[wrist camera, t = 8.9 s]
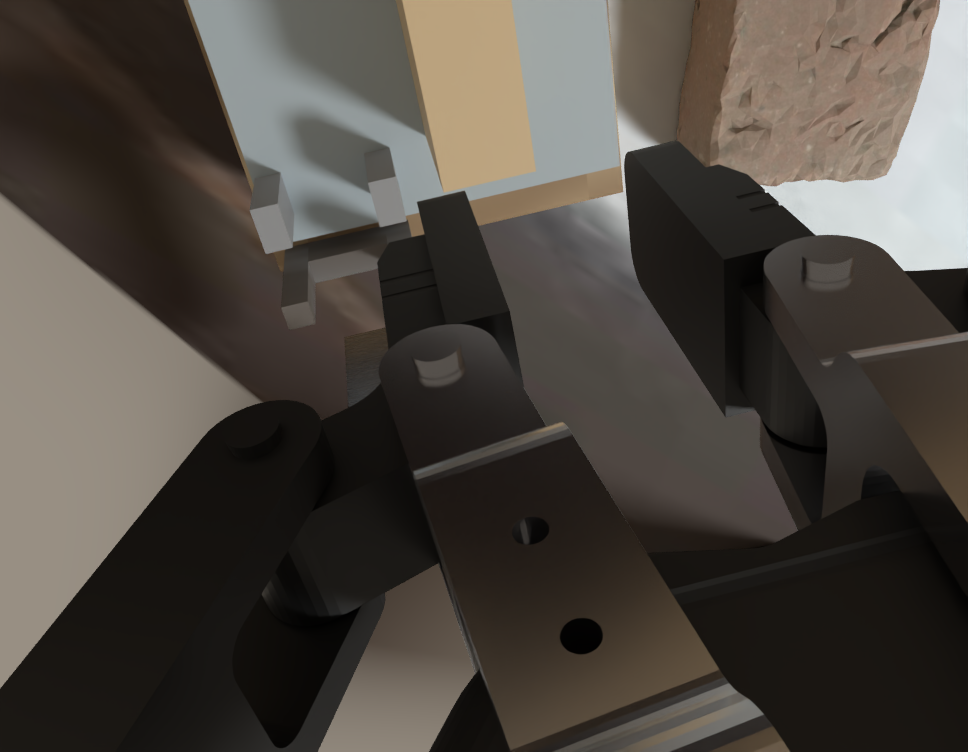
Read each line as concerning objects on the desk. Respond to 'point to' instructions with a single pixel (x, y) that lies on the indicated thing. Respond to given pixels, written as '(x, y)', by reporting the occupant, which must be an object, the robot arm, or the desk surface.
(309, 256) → the wooden box
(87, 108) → the desk surface
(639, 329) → the desk surface
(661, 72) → the desk surface
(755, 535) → the desk surface
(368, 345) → the grey angled block
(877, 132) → the brick
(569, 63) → the lid
